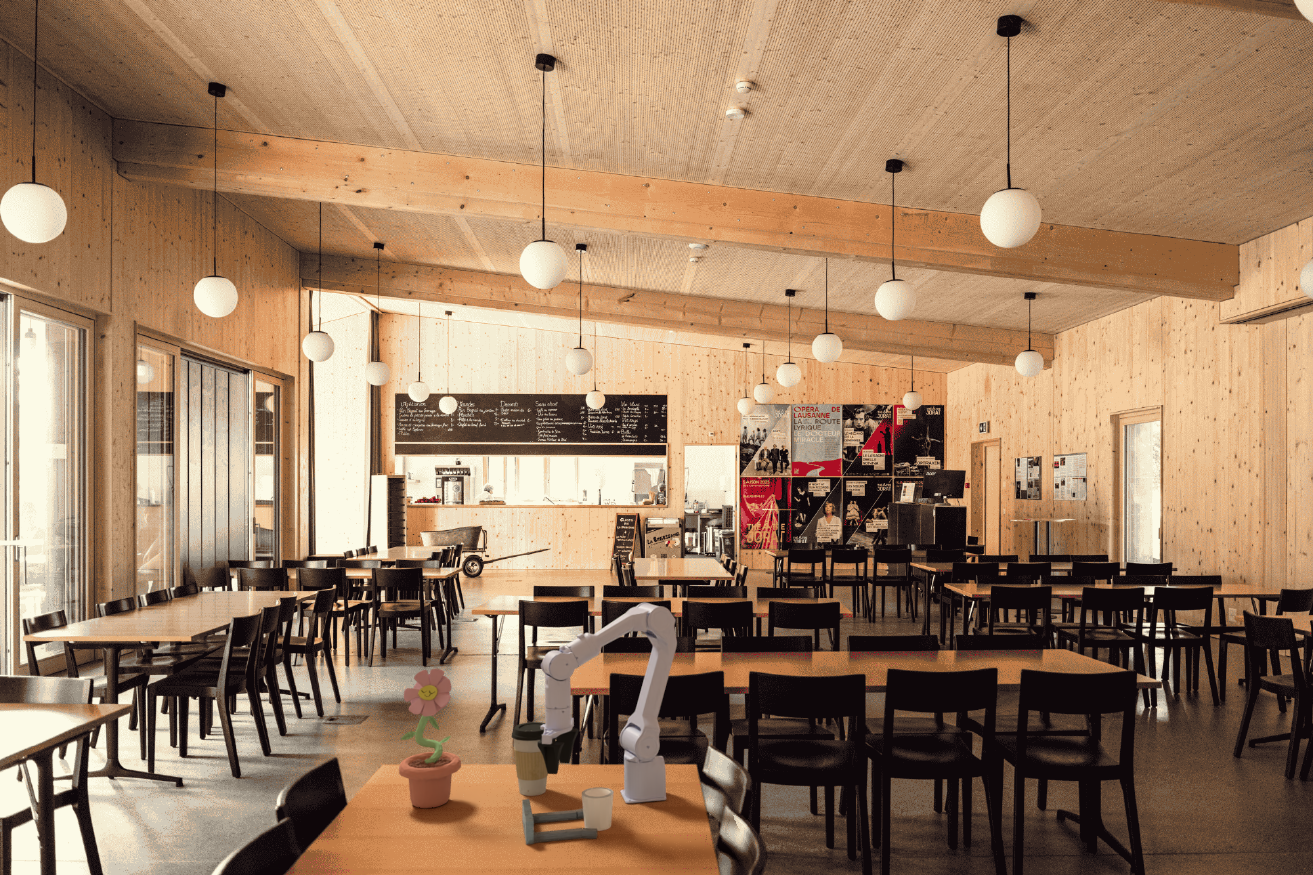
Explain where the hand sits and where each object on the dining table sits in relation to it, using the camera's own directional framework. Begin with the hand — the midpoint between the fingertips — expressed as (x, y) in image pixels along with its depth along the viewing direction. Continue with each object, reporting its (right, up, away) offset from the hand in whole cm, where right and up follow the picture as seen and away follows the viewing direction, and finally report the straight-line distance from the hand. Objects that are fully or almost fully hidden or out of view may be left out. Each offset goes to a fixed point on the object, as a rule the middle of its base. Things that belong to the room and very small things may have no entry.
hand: (558, 768), depth 196 cm
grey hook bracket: (0, -9, -11) cm, 14 cm away
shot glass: (+9, -9, -9) cm, 16 cm away
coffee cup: (-8, -11, +13) cm, 18 cm away
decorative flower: (-31, -10, +6) cm, 33 cm away
